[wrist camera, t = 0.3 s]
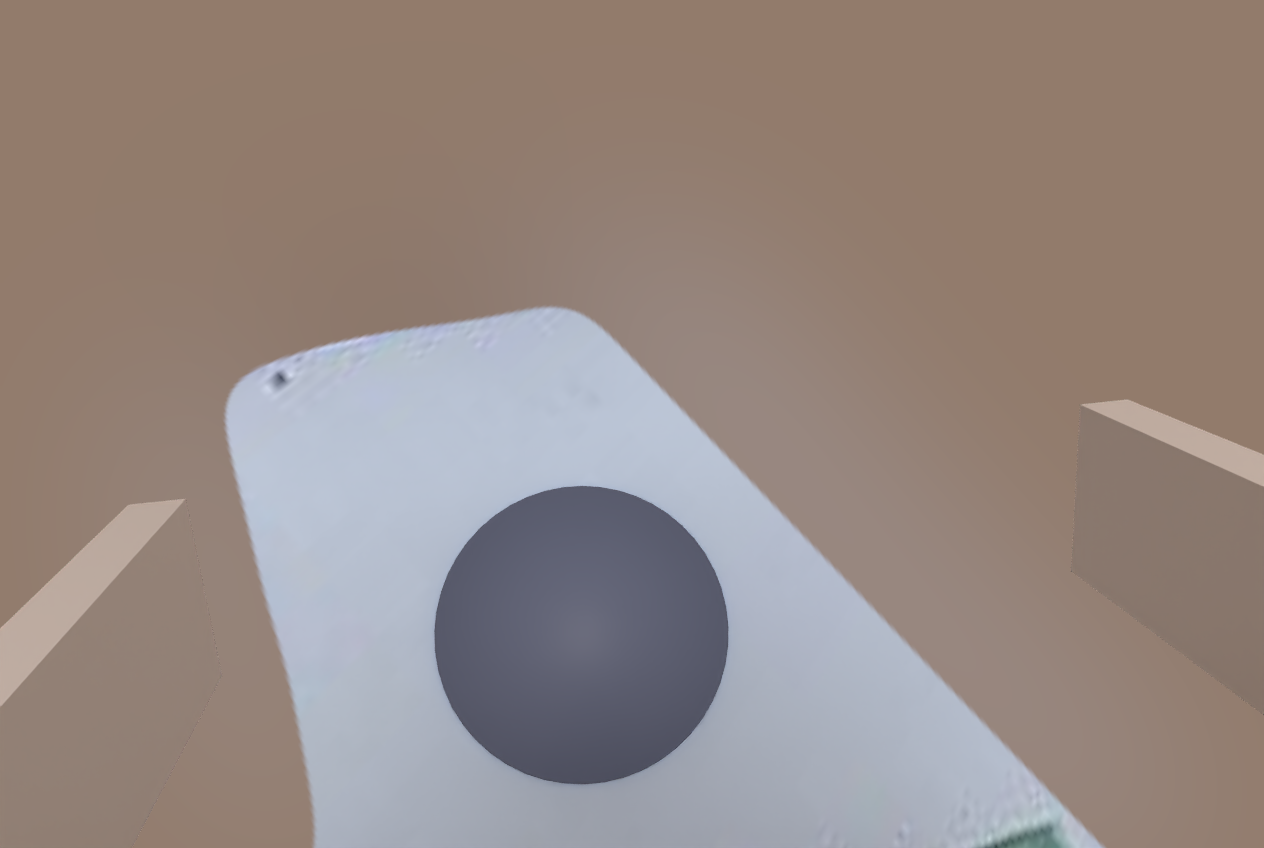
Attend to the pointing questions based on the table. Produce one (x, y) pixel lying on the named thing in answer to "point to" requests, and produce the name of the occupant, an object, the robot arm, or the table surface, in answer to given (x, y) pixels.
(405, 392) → the table surface
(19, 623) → the robot arm
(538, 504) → the disc
